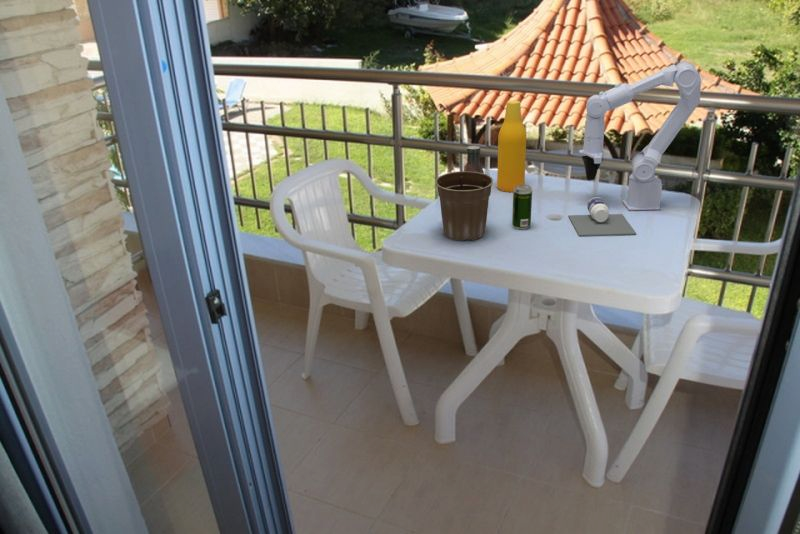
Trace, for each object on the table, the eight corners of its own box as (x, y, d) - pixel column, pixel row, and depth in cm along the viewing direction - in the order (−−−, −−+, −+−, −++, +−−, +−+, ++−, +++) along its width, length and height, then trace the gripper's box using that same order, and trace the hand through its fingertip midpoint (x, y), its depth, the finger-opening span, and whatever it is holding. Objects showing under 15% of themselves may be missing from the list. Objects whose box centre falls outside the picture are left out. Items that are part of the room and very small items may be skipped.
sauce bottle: (482, 213, 212) (483, 150, 204) (462, 212, 214) (462, 150, 205) (483, 205, 218) (484, 144, 210) (464, 205, 219) (464, 144, 211)
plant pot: (476, 248, 189) (477, 193, 182) (425, 238, 197) (424, 184, 190) (501, 228, 201) (503, 175, 194) (452, 219, 209) (452, 168, 202)
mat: (622, 215, 207) (622, 213, 206) (636, 235, 193) (636, 233, 193) (568, 216, 207) (568, 215, 207) (578, 236, 194) (579, 234, 193)
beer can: (534, 228, 200) (535, 189, 195) (517, 231, 199) (519, 191, 194) (524, 221, 205) (526, 183, 200) (508, 224, 203) (510, 186, 198)
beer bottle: (496, 183, 237) (498, 99, 224) (523, 183, 236) (527, 98, 224) (497, 192, 229) (499, 105, 216) (525, 192, 228) (529, 104, 215)
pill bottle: (607, 200, 206) (614, 211, 198) (599, 215, 208) (605, 226, 200) (591, 194, 205) (597, 204, 197) (583, 209, 207) (589, 220, 199)
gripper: (575, 130, 214) (572, 172, 220) (586, 143, 201) (582, 187, 207) (598, 129, 214) (594, 171, 220) (610, 142, 201) (606, 186, 207)
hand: (590, 179), depth 213 cm, fingers closed
